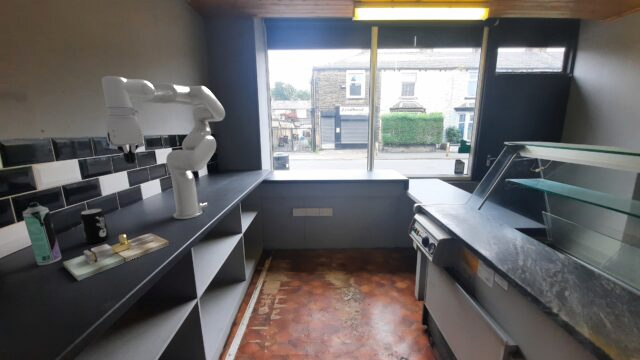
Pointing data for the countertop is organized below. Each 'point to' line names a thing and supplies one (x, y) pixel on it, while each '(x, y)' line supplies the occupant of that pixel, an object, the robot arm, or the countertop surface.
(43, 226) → the spray can
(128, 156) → the robot arm
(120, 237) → the bolt
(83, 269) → the latch board
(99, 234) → the beverage can
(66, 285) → the countertop surface
